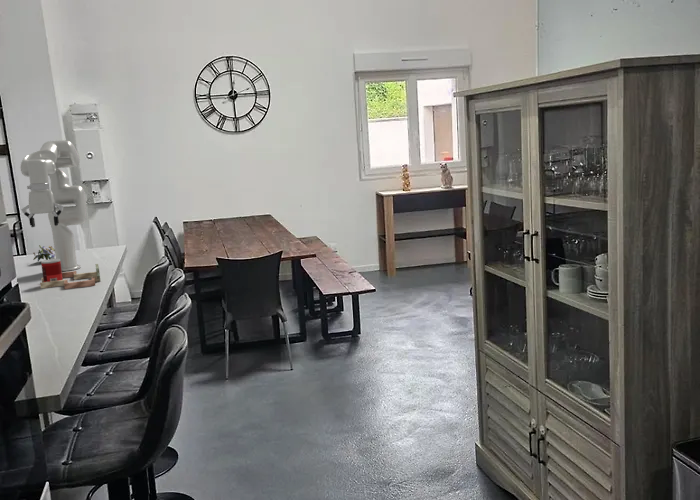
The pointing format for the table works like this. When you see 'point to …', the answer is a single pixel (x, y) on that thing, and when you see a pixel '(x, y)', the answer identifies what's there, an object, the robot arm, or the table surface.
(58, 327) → the table surface
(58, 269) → the canned food
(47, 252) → the passion flower
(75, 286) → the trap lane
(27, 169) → the robot arm
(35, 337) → the table surface
